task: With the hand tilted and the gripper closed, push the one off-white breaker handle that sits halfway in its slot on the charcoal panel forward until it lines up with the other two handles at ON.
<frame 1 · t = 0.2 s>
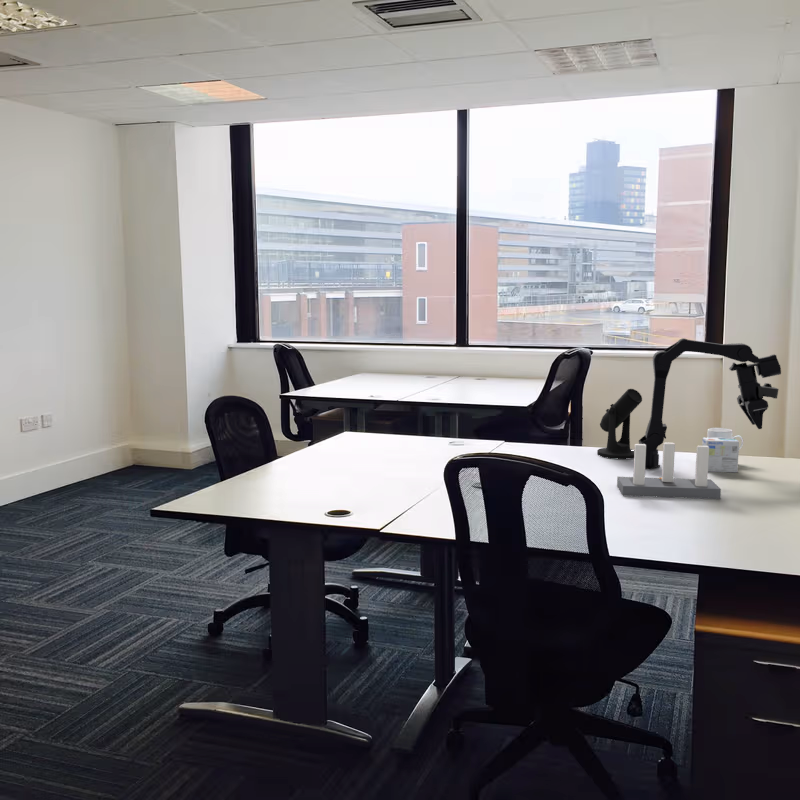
hand: (757, 426, 278), 15 cm above the table, tool pointing down, fingers open, 9 cm apart
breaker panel: (667, 492, 253), on the table
microphone: (618, 455, 307), on the table
light bulb box: (718, 470, 283), on the table
mug: (723, 462, 296), on the table
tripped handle: (668, 462, 253), point 9 cm above the table, slide at 2.5 cm
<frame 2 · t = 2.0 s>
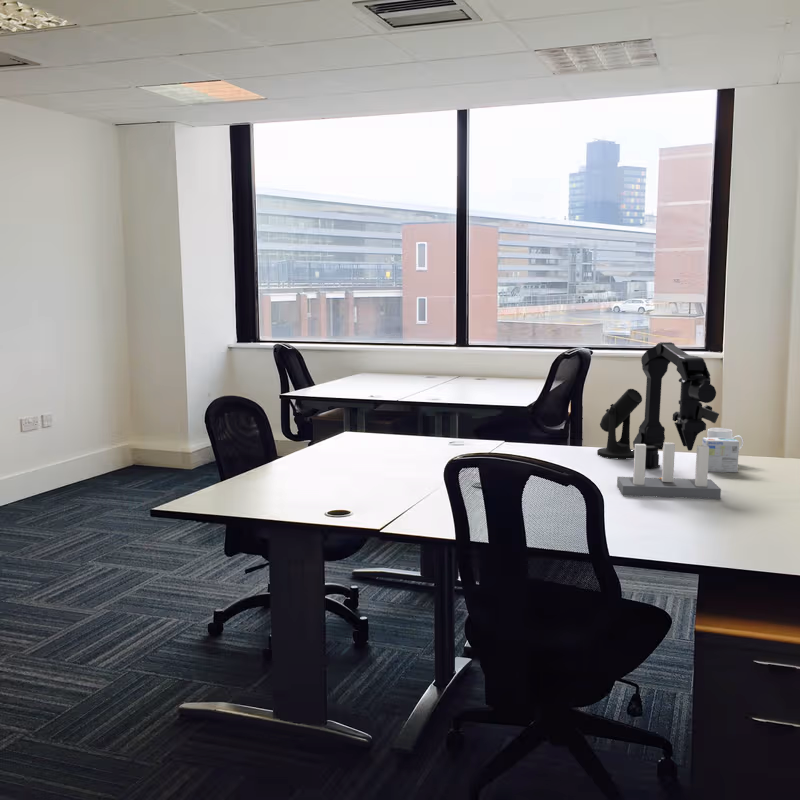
hand: (687, 448, 259), 12 cm above the table, tool pointing down, fingers open, 6 cm apart
nothing on the table moved.
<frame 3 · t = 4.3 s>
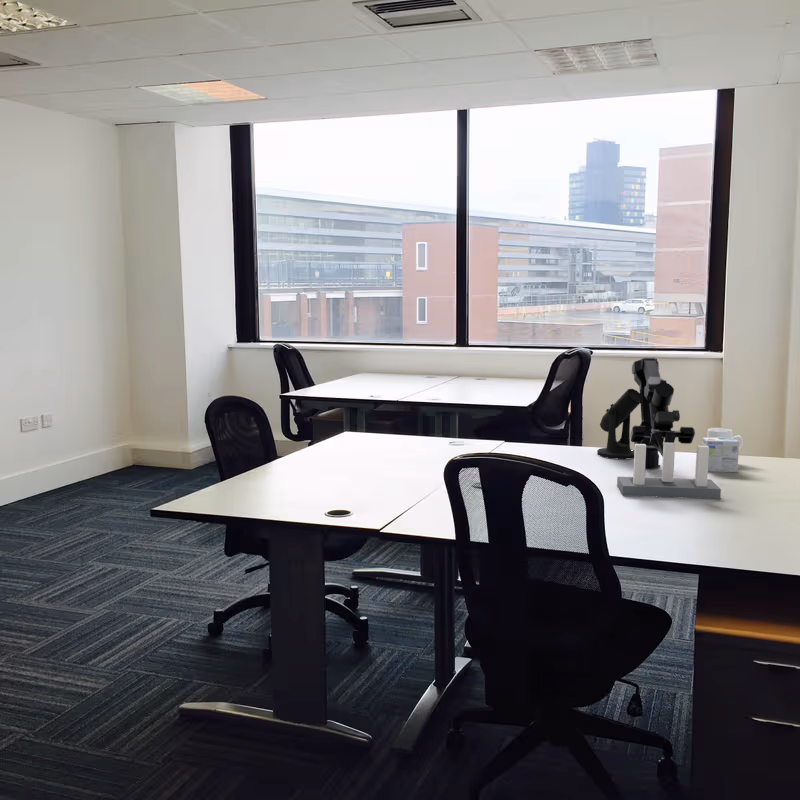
hand: (664, 457, 258), 10 cm above the table, tool tilted 45°, fingers closed
nothing on the table moved.
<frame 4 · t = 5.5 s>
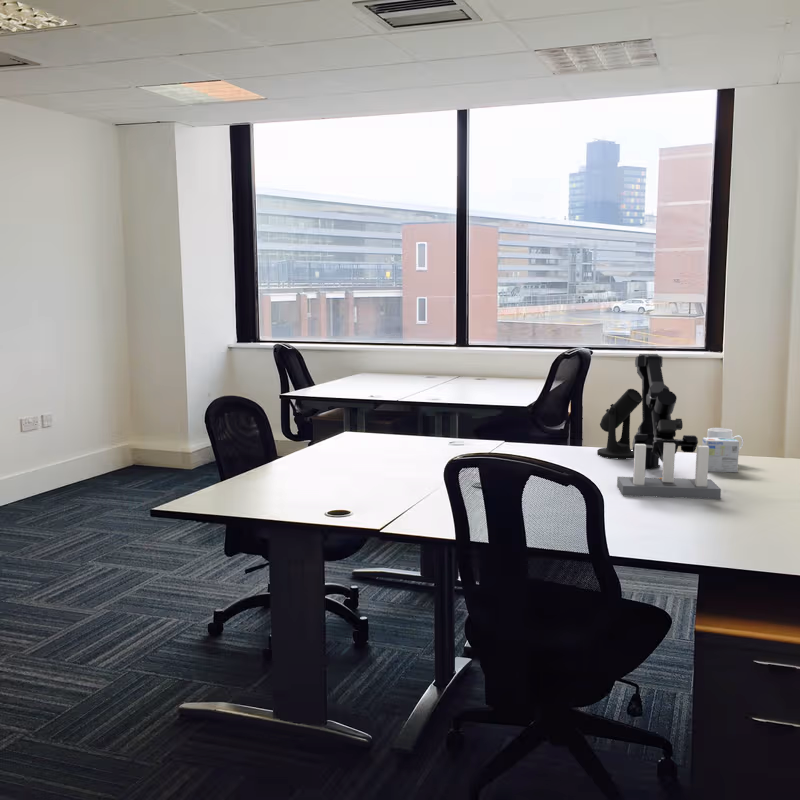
hand: (667, 466, 254), 8 cm above the table, tool tilted 45°, fingers closed, pressing on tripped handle
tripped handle: (668, 462, 252), point 9 cm above the table, slide at 2.9 cm, touching gripper
everything else where it was.
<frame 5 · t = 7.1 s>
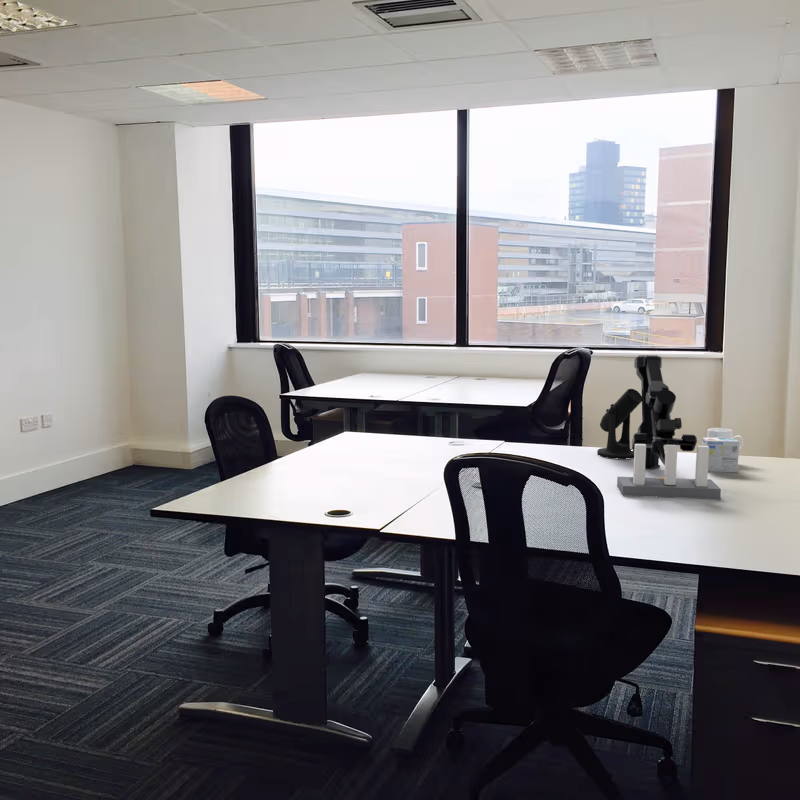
hand: (666, 465, 255), 8 cm above the table, tool tilted 45°, fingers closed
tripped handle: (670, 464, 249), point 9 cm above the table, slide at 6.0 cm
everything else where it was.
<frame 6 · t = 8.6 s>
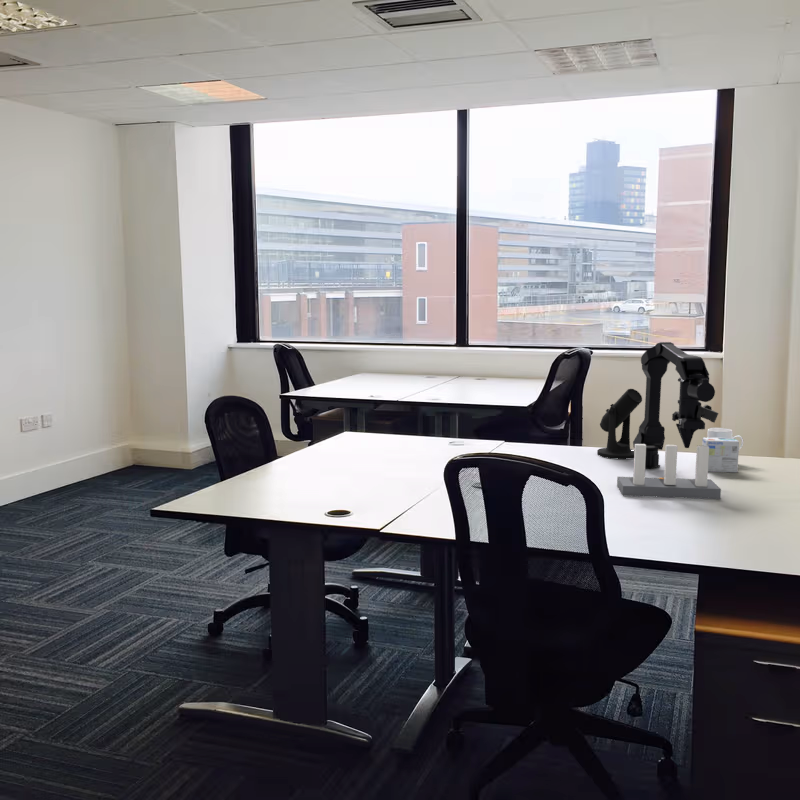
hand: (686, 447, 259), 12 cm above the table, tool pointing down, fingers closed
nothing on the table moved.
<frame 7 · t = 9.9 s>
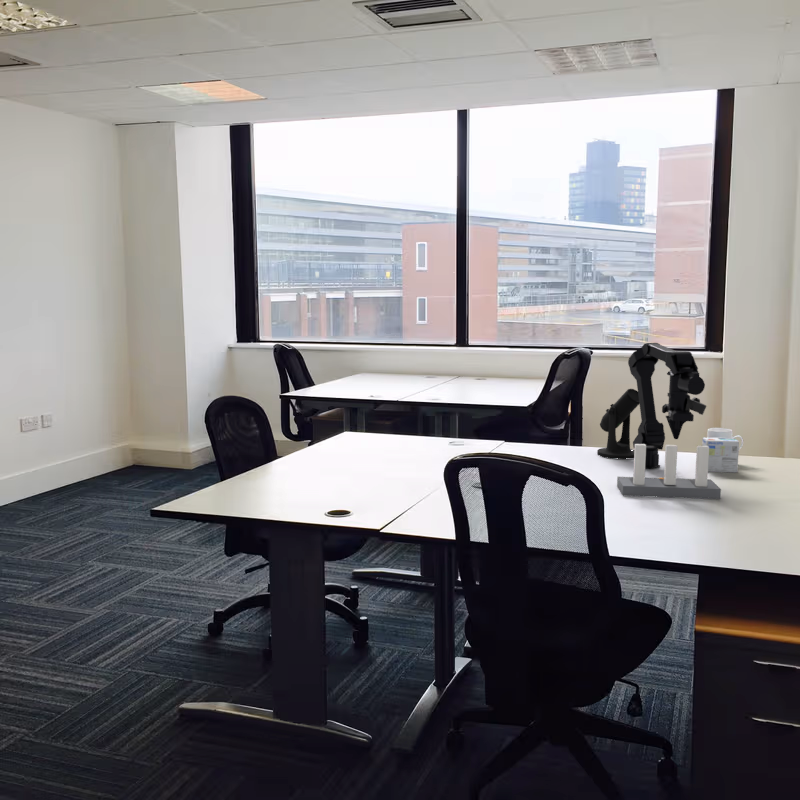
hand: (676, 439, 269), 13 cm above the table, tool pointing down, fingers closed
nothing on the table moved.
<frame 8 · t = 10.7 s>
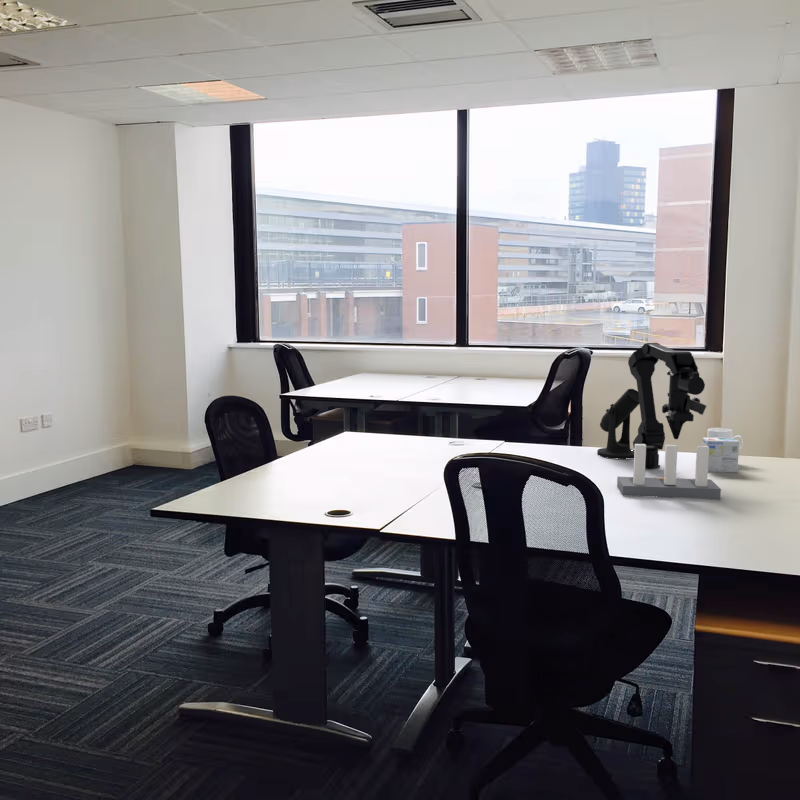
hand: (676, 439, 269), 13 cm above the table, tool pointing down, fingers closed
nothing on the table moved.
at the end: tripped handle slide at 6.0 cm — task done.
